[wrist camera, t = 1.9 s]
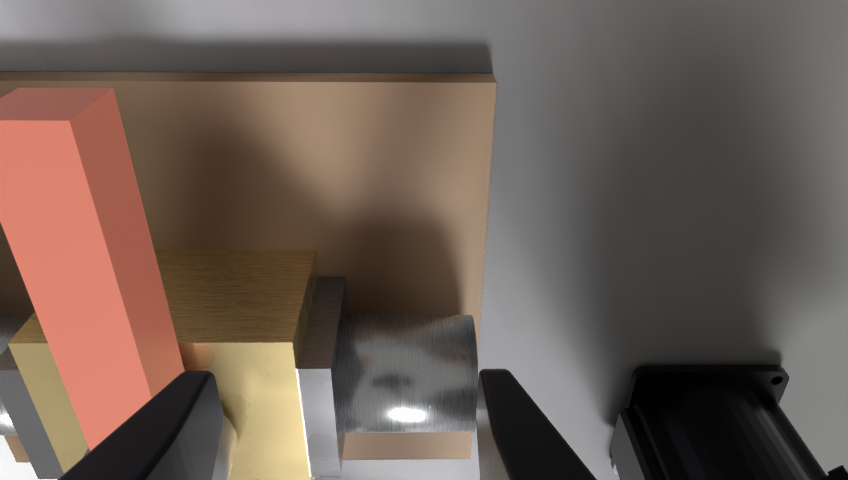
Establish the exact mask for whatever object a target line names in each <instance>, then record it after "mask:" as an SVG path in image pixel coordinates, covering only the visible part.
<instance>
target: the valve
mask: <svg viewBox="0 0 848 480" xmlns="http://www.w3.org/2000/svg"><path fill="white" fill-rule="evenodd" d="M154 251H155V255H156V259H157V263H158V267H159V271H160V275H161V279H162V283H163V287H164V291H165V295H166V299H167V303H168V307H169V311H170V315H171V319H172V323H173V327H174V331H175V335H176V339H177V343H178V347H179V351H180V355H181V358H182V362H183V366H184V370H185V371H210V372H212V373H213V374H214V376H215V379H216V383H217V387H218V392H219V396H220V401H221V405H222V410H223V414H224V415H225V416H226V417H227V418H228V419H229V421H230V422H231V424H232V425H233V427H234V429H235V432H236V435H237V441H238V445H237V451H236V454H235V458H234V461H233V464H232V468H231V471H230V474H229V478H228V480H316V477H340V476H341V467H342V459H343V450H344V442H345V433H415V432H475V429H476V407H477V393H478V359H477V342H476V332H475V324H474V319H473V316H472V315H348V306H347V291H346V277H318V268H317V258H316V250H154ZM0 435H18V436H19V439H20V441H21V443H22V445H23V447H24V449H25V451H26V454H27V456H28V458H29V460H30V462H31V464H32V466H33V468H34V471H35V473H36V475H37V477H38V479H59V478H60V477H61V476H62V475H63V474H64V473H66V472H67V471H68V470H69V469H70V468H71V467H73V466H74V465H75V464H76V463H77V462H78V461H80V460H81V459H82V458H83V456H84V454H85V452H86V451H87V449H88V444H87V442H86V439H85V437H84V434H83V432H82V429H81V427H80V424H79V421H78V419H77V416H76V414H75V411H74V409H73V406H72V404H71V401H70V398H69V396H68V393H67V391H66V388H65V386H64V383H63V381H62V378H61V375H60V373H59V370H58V368H57V365H56V363H55V360H54V358H53V355H52V352H51V350H50V347H49V345H48V342H47V340H46V337H45V335H44V332H43V329H42V327H41V324H40V322H39V319H38V317H37V314H36V312H34V313H33V314H32V315H31V316H0Z"/></svg>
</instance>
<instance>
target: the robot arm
mask: <svg viewBox="0 0 848 480" xmlns="http://www.w3.org/2000/svg"><path fill="white" fill-rule="evenodd" d="M645 377H648V378H646V379H643V378H645ZM788 381H789V376H788V374H787V373H786V371H785V370H784V369H783V367H781V366H778V365H688V366H641V367H639V368H637V369H636V370H635V371H634V372H633V374H632V378H631V382H630V386H629V390H628V394H627V398H626V403H625V407H624V408H622V409H621V411H620V412H619V414H618V418H617V422H616V426H615V431H614V435H613V439H612V443H611V447H610V451H611V454H612V460H611V466H612V469H613V472H614V473H615V474H616V475H618V476H619V478H620V480H848V471H847V470H846V469H845V468H844V466H843V465H841V466H839V467H837V468H835V469H833V470H831V471H829V472H828V474H829V475H826V474H825V472H824V471H823V469H822V468H821V466H820V465H819V463H818V462H817V460H816V459H815V457H814V456H813V455H812V453H811V452H810V450H809V449H808V447H807V446H806V444H805V443H804V441H803V440H802V438H801V437H800V436H799V434H798V433H797V431H796V430H795V428H794V427H793V425H792V424H791V422H790V421H789V419H788V418H787V417H786V415H785V414H784V412H783V411H782V409H781V408H780V406H779V405H778V404H779V402H780V400H781V397H782V395H783V393H784V390H785V388H786V385H787V383H788ZM476 425H477V439H478V454H479V468H480V480H597V479H596V478H595V477H594V476H593V474H592V473H591V472H590V471H589V469H588V468H587V467H586V466H585V465H584V463H583V462H582V461H581V460H580V458H579V457H578V456H577V455H576V453H575V452H574V451H573V450H572V448H571V447H570V446H569V445H568V443H567V442H566V441H565V440H564V438H563V437H562V436H561V435H560V433H559V432H558V431H557V430H556V428H555V427H554V426H553V425H552V423H551V422H550V421H549V420H548V419H547V417H546V416H545V415H544V414H543V412H542V411H541V410H540V409H539V407H538V406H537V405H536V404H535V402H534V401H533V400H532V399H531V397H530V396H529V395H528V394H527V392H526V391H525V390H524V389H523V387H522V386H521V385H520V384H519V382H518V381H517V380H516V379H515V377H514V376H513V375H512V374H511V373H510V371H508V370H506V369H483V370H481V371H480V373H479V379H478V393H477V407H476ZM222 426H223V410H222V405H221V401H220V396H219V392H218V387H217V383H216V379H215V376H214V374H213V373H212V372H210V371H185V372H183V373H181V374H179V375H178V376H177V377H176V378H175V379H173V380H172V381H171V382H170V383H169V384H168V385H167V386H165V387H164V388H163V389H162V390H161V391H160V392H158V393H157V394H156V395H155V396H154V397H153V398H151V399H150V400H149V401H148V402H147V403H146V404H144V405H143V406H142V407H141V408H140V409H139V410H138V411H136V412H135V413H134V414H133V415H132V416H131V417H129V418H128V419H127V420H126V421H125V422H124V423H122V424H121V425H120V426H119V427H118V428H117V429H115V430H114V431H113V432H112V433H111V434H110V435H109V436H107V437H106V438H105V439H104V440H103V441H102V442H100V443H99V444H98V445H97V446H96V447H95V448H93V449H92V450H91V451H90V452H89V453H88V454H86V455H85V456H84V457H83V458H82V459H81V460H80V461H78V462H77V463H76V464H75V465H74V466H73V467H71V468H70V469H69V470H68V471H67V472H66V473H64V474H63V475H62V476H61V477H60V478H59V479H57V480H212V477H213V472H214V467H215V462H216V457H217V452H218V447H219V442H220V437H221V432H222Z"/></svg>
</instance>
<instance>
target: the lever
mask: <svg viewBox="0 0 848 480" xmlns="http://www.w3.org/2000/svg"><path fill="white" fill-rule="evenodd" d="M0 222H1V225H2V227H3V230H4V232H5V235H6V237H7V240H8V243H9V245H10V248H11V250H12V253H13V255H14V258H15V260H16V263H17V266H18V268H19V271H20V273H21V276H22V278H23V281H24V283H25V286H26V289H27V291H28V294H29V296H30V299H31V301H32V304H33V306H34V309H35V312H36V314H37V317H38V319H39V322H40V324H41V327H42V329H43V332H44V335H45V337H46V340H47V342H48V345H49V347H50V350H51V352H52V355H53V358H54V360H55V363H56V365H57V368H58V370H59V373H60V375H61V378H62V381H63V383H64V386H65V388H66V391H67V393H68V396H69V398H70V401H71V404H72V406H73V409H74V411H75V414H76V416H77V419H78V421H79V424H80V427H81V429H82V432H83V434H84V437H85V439H86V442H87V444H88V449H87V451H86V452H85V454H84V456H85V455H86V454H88V453H89V452H90V451H91V450H92V449H93V448H95V447H96V446H97V445H98V444H99V443H100V442H102V441H103V440H104V439H105V438H106V437H107V436H109V435H110V434H111V433H112V432H113V431H114V430H115V429H117V428H118V427H119V426H120V425H121V424H122V423H124V422H125V421H126V420H127V419H128V418H129V417H131V416H132V415H133V414H134V413H135V412H136V411H138V410H139V409H140V408H141V407H142V406H143V405H144V404H146V403H147V402H148V401H149V400H150V399H151V398H153V397H154V396H155V395H156V394H157V393H158V392H160V391H161V390H162V389H163V388H164V387H165V386H167V385H168V384H169V383H170V382H171V381H172V380H173V379H175V378H176V377H177V376H178V375H179V374H181V373H183V372H185V370H184V366H183V362H182V358H181V355H180V351H179V347H178V343H177V339H176V335H175V331H174V327H173V323H172V319H171V315H170V311H169V307H168V303H167V299H166V295H165V291H164V287H163V283H162V279H161V275H160V271H159V267H158V263H157V259H156V255H155V251H154V247H153V243H152V239H151V236H150V232H149V228H148V224H147V220H146V216H145V212H144V208H143V204H142V200H141V196H140V192H139V188H138V184H137V180H136V176H135V172H134V168H133V164H132V160H131V156H130V152H129V148H128V144H127V140H126V136H125V132H124V128H123V124H122V121H121V117H120V113H119V109H118V105H117V101H116V97H115V93H114V89H113V88H18V89H16V90H14V91H12V92H10V93H9V94H7V95H5V96H3V97H1V98H0ZM237 445H238V441H237V435H236V432H235V429H234V427H233V425H232V424H231V422H230V421H229V419H228V418H227V417H226V416H225V415H224V414H223V426H222V432H221V437H220V442H219V447H218V452H217V457H216V462H215V467H214V472H213V477H212V480H228V478H229V474H230V471H231V468H232V464H233V461H234V458H235V454H236V451H237ZM84 456H83V457H84Z"/></svg>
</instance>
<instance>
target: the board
mask: <svg viewBox="0 0 848 480" xmlns="http://www.w3.org/2000/svg"><path fill="white" fill-rule="evenodd" d="M496 87H497V82H496V80H495V77H494V75H493V74H482V73H257V72H33V71H0V98H1V97H3V96H5V95H7V94H9V93H10V92H12V91H14V90H16V89H18V88H113V89H114V93H115V97H116V101H117V105H118V109H119V113H120V117H121V121H122V124H123V128H124V132H125V136H126V140H127V144H128V148H129V152H130V156H131V160H132V164H133V168H134V172H135V176H136V180H137V184H138V188H139V192H140V196H141V200H142V204H143V208H144V212H145V216H146V220H147V224H148V228H149V232H150V236H151V239H152V243H153V247H154V250H316V258H317V268H318V277H346V291H347V306H348V315H472V316H473V319H474V324H475V332H476V342H477V357H478V343H479V328H480V314H481V300H482V286H483V272H484V257H485V243H486V229H487V215H488V201H489V186H490V172H491V158H492V144H493V130H494V115H495V101H496ZM34 312H35V309H34V306H33V304H32V301H31V299H30V296H29V294H28V291H27V289H26V286H25V283H24V281H23V278H22V276H21V273H20V271H19V268H18V266H17V263H16V260H15V258H14V255H13V253H12V250H11V248H10V245H9V243H8V240H7V237H6V235H5V232H4V230H3V227H2V225H1V222H0V316H31V315H32V314H33V313H34ZM4 437H5V439H6V441H7V443H8V445H9V447H10V449H11V451H12V453H13V455H14V457H15V460H16V462H30V460H29V458H28V456H27V454H26V451H25V449H24V447H23V445H22V443H21V441H20V439H19V436H18V435H4ZM471 442H472V432H415V433H345V442H344V450H343V459H342V460H395V459H470V456H471Z"/></svg>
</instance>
